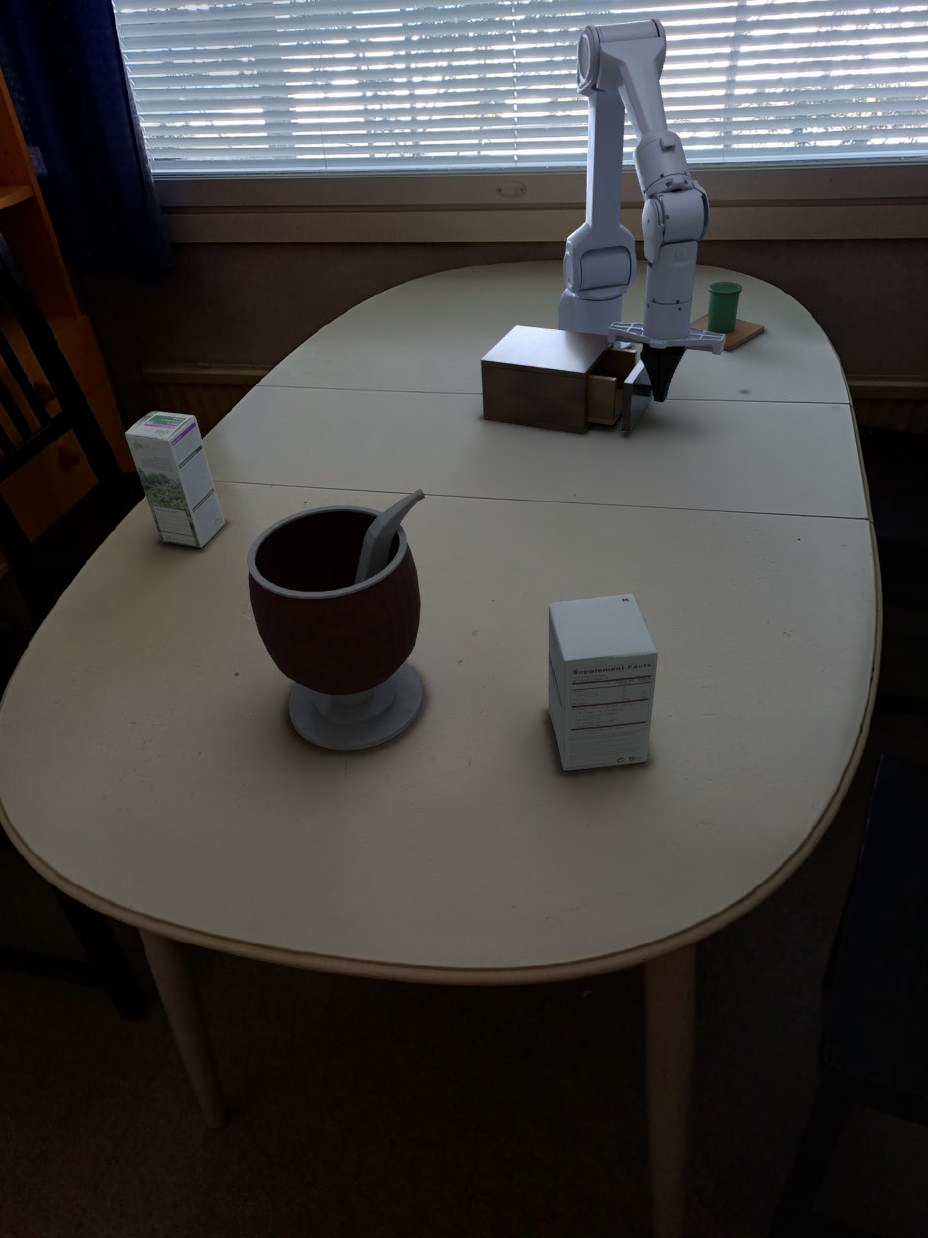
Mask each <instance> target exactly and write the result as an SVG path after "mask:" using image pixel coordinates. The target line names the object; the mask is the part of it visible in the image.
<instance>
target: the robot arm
mask: <svg viewBox="0 0 928 1238" xmlns="http://www.w3.org/2000/svg"><path fill="white" fill-rule="evenodd" d="M667 45H668V44H667V33H666V30H665V27H664V25H663V24H662V22H661V21H660V19H658V18H655V17H654V18H650V19H648V20H638V21H628V22H620V23H612V24H611V23H609V24H599V25H594V24H587V25H586V26H585V27H584V28H583V30H582V32H581V34H580V36H579V38H578V41H577V45H576V90H577V91H576V92H577V94H578V95H582V96H584V97H587V105H588V106H587V107H588V124H587V125H588V126H587V157H586V158H587V159H586V161H587V162H586V163H587V164H586V199H585V222H584V223H583V224H582V225H581V226H579V227H578V228H577V229H576V230H574V232H572V233H571V234H570V235H569V236H568V237H567V238H566V243H565V254H564V257H563V262H562V273H563V280H564V283H565V287H566V289H565V290H564V291H563V292H562V294H561V296H560V299H559V302H558V308H557V319H558V320H557V330H563V331H572V332H581V333H590V334H599V335H608V342H609V343H615V345H614V348H620V349H628V348H630V347H632V346H633V344H636V345H637V344H638V345H642V347H641V350H640V353H639V358H640V359H641V361H642V362H643V364H644V366H645V368H646V371H647V373H648V376H649V379H650V382H651V387H652V392H653V397H652V399H653V402H656V403H661V404H662V403H664V402H665V401H666V399H667V397H668V393H669V389H670V386H671V383H672V380H673V377H674V375H675V373H676V371H677V368H678V366H679V364H680V362H681V360H682V359H683V357H684V355H685V353H686V351H687V350H691V351H701V352H709V353H711V354H712V355H715V356H721V355H722V353H723V352H724V351H725V350H724V343H725V334H718V333H713V332H709V331H705V330H701V329H698V328H694V327H690V323H691V315H692V306H693V296H694V285H695V275H696V266H697V258H698V257H697V255H698V245H699V243H698V241H703V240H704V239H705V238H706V236H707V235H708V231H709V227H710V218H711V211H710V210H711V209H710V203H709V202H710V201H709V197H708V193H707V191H706V190H705V188H704V187H703V186H700V184H699V181H698V180H697V179H692V176H691V172H690V169H689V164H688V162H687V158H686V154H685V151H684V150H685V149H684V148H683V143H682V140H681V137H680V136H679V135H678V134H677V133H676V132H674V131H671V130H669V128H668V124H667V123H668V122H667V118H666V111H665V106H664V100H663V94H662V88H661V82H660V80H661V77H662V74H663V71H664V65H665V61H666V57H667V49H668V47H667ZM626 114H627V116H628V119H629V121H630V125H631V126H632V129H633V132H634V135H635V137H636V140H637V145H636V146H635V149H634V150H633V153H632V161H633V164H634V168H635V171H636V176H637V179H638V180H637V181H638V183H639V186H640V190H641V194H642V198H643V201H644V205H643V209H642V213H641V227H642V235H643V241H644V242H643V252H644V258H645V259H646V260H647V262H646V263H647V264H646V278H645V292H644V307H643V322H622V319H623V318H622V317H623V297H624V294H627V293H628V292H627V291H628V287H630V286H632V284H633V282H634V281H635V279H636V276H637V271H638V270H637V269H638V268H637V267H638V262H637V261H638V260H637V254H636V240H635V237H634V235H633V234H632V232H631V231H630V230H629V229H628V228H626V227H625V226H624V225H623V224H621V223H620V222H621V204H622V203H621V200H622V184H623V183H622V181H623V161H624V139H625V121H626V119H625V118H626Z"/></svg>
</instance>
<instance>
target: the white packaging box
mask: <svg viewBox="0 0 928 1238" xmlns="http://www.w3.org/2000/svg"><path fill="white" fill-rule="evenodd" d="M641 608H642V607H641V606H640V603H639V601H638V598H637V595H636V594H634V593H631V594H630V593H629V594H618V595H617V594H616V595H609V596H599V597H598V596H597V597H588V598H581V599H580V598H579V599H573V600H572V599H571V600H563V601H554V602H550V603H548V713H549V716H550V720H551V723H552V726H553V730H554V734H555V739H556V743H557V747H558V751H559V756H560V761H561V767H562V771H577V770H585V769H586V770H587V769H596V768H605V767H614V766H623V765H630V764H640V763H645V762H647V761H648V755H649V745H650V734H651V725H652V716H653V705H654V699H655V698H654V697H655V690H656V689H655V688H656V678H657V669H658V657H659V656H658V655H659V650H658V648H657V647H658V646H657V645H656V642H655V640H654V637H653V635H652V633H651V630H650V628H649V624H648V623H647V619H646V618H645V615H644V613H643V611H642V609H641Z"/></svg>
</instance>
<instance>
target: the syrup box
mask: <svg viewBox="0 0 928 1238" xmlns="http://www.w3.org/2000/svg"><path fill="white" fill-rule="evenodd" d="M124 435H125V439H126V442H127V445H128V447H129V450H130V454H131V456H132V459H133V462H134V465H135V469H136V471H137V474H138V478H139V479H140V483H141V486H142V488H143V492H144V494H145V498H146V501H147V504H148V507H149V509H150V512H151V515H152V518H153V521H154V524H155V526H156V530H157V533H158V536H159V538H160V541H161V542H162V543H166V544H167V543H168V544H174V545H180V546H186V547H191V548H192V547H193V548H200V549H201V548H203V547H204V546H205V545H207V543H209V542H210V541H211V539H212V538H214V537H215V535H216V534H217V533H218V532H219V531H220V530H221V529H222V528H223V527H224V526H225V525H226V520H225V517H224V513H223V510H222V507H221V504H220V501H219V497H218V493H217V490H216V486H215V483H214V480H213V475H212V472H211V468H210V465H209V461H208V457H207V454H206V450H205V447H204V443H203V439H202V435H201V431H200V428H199V424H198V422H197V418H196V416H195V415H193V414H183V413H174V412H165V411H157V410H153V411H150V412H149V413H147V414H146V415H144V416H143V417H142V418H140V419H139V420H137V421H136V422H135V423H133V425H132V426H131V427H129V428H128V430H126V431H125V432H124Z"/></svg>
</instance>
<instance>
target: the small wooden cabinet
mask: <svg viewBox="0 0 928 1238" xmlns="http://www.w3.org/2000/svg"><path fill="white" fill-rule="evenodd" d="M614 345H615V343H609V342H608V335H599V334H590V333H581V332H572V331H563V330H558V329H553V328H545V327H534V326H526V325H518V324H517V325H515V326H514V327H513V328H512V329H511V330H510V331H509V332H507V334H506V335H504V337H503V338H502V339H501V340H499V341H498V343H497V344H495V346H493V347H492V348H491V349H490V350H489V351H488V352H487V353H486V354H485V355H484V356H483V357H482V358H481V359H480V372H481V374H480V375H481V391H482V392H481V393H482V411H483V419H484V420H489V421H490V420H491V421H498V422H504V423H509V424H510V423H511V424H517V425H521V426H522V425H523V426H530V427H535V428H541V429H542V428H543V429H548V430H554V431H563V432H569V433H575V434H582V435H584V434H585V433H586V431H587V430H588V429H589V427H590V426H591V425H592V423H593V422H587V421H586V389H587V375H588V374H589V373H590V372H591V370H592V369H593V368H594V367H595V365H596V364H597V363H598V362H599V360H600V359H601V358H602V357H603V355H604V354H605V353H606V352H607V350H608V349H609V348H610V347H611V348H614Z"/></svg>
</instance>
